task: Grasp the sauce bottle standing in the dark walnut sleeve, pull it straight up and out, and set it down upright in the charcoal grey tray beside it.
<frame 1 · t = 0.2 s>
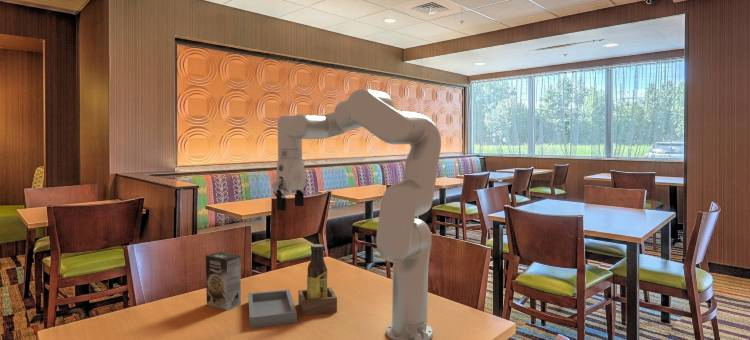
hand: (290, 208, 141), 31 cm above the table, tool pointing down, fingers open, 9 cm apart
sauce bottle: (317, 308, 137), resting in bottle sleeve
coffee box: (223, 305, 140), on the table
bottle sleeve: (317, 308, 137), on the table
tray: (271, 311, 134), on the table
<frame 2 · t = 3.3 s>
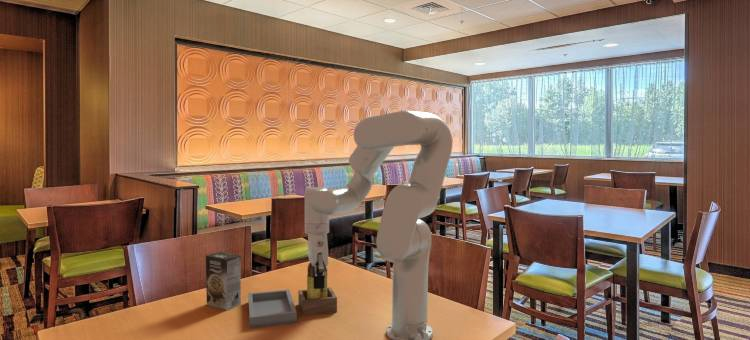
hand: (317, 284, 137), 8 cm above the table, tool pointing down, fingers closed on sauce bottle, 6 cm apart
sauce bottle: (317, 308, 137), resting in bottle sleeve, touching gripper
everything else where it was.
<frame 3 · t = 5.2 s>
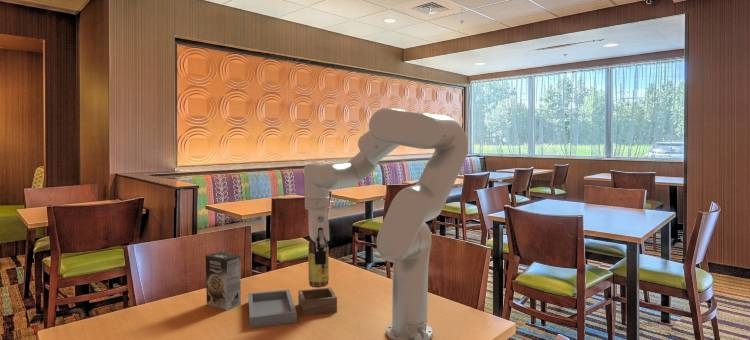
hand: (318, 260, 136), 15 cm above the table, tool pointing down, fingers closed on sauce bottle, 6 cm apart
sauce bottle: (319, 285, 136), point 7 cm above the table, touching gripper
everything else where it was.
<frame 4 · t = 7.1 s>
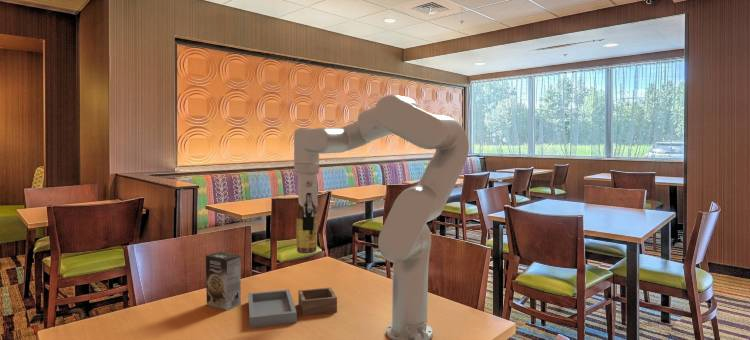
hand: (306, 227, 135), 26 cm above the table, tool pointing down, fingers closed on sauce bottle, 6 cm apart
sauce bottle: (306, 252, 135), point 18 cm above the table, touching gripper
everything else where it was.
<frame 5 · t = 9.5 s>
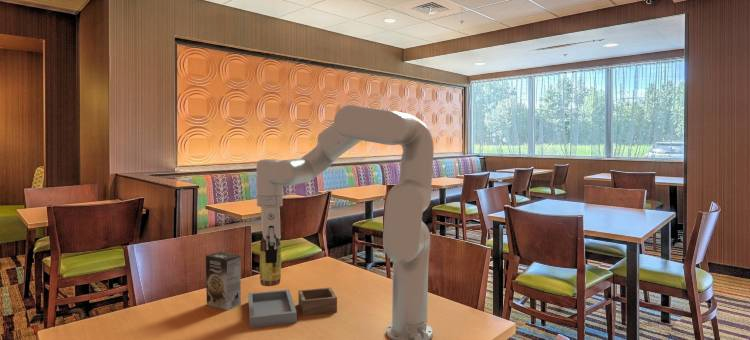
hand: (270, 258, 133), 16 cm above the table, tool pointing down, fingers closed on sauce bottle, 6 cm apart
sauce bottle: (270, 284, 134), point 9 cm above the table, touching gripper
everything else where it was.
when the fingers open (9 cm above the table, at t = 11.3 s): sauce bottle stays where it is, resting on tray.
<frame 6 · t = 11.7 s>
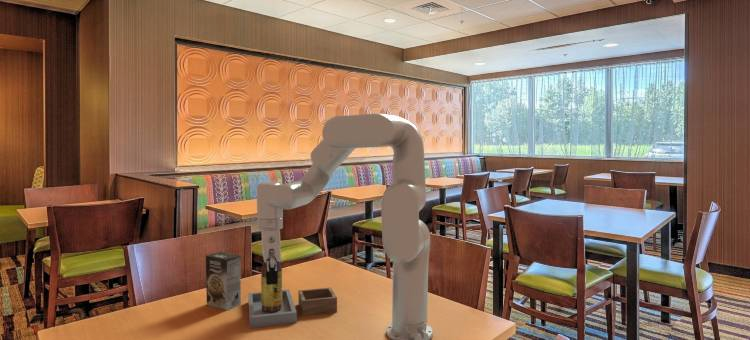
hand: (270, 278, 133), 10 cm above the table, tool pointing down, fingers open, 9 cm apart
sauce bottle: (271, 309, 134), point 1 cm above the table, touching tray
everything else where it was.
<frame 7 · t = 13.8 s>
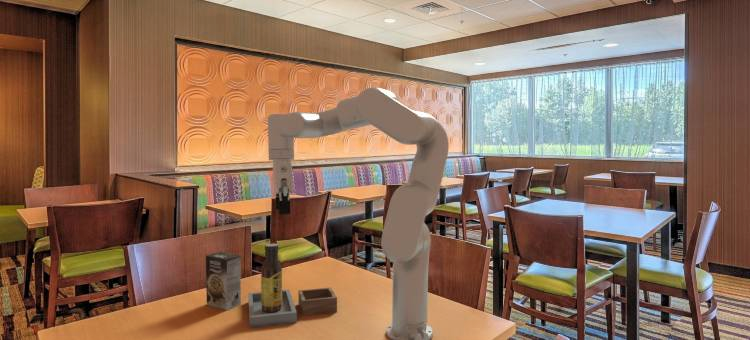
hand: (282, 211, 133), 31 cm above the table, tool pointing down, fingers open, 9 cm apart
nothing on the table moved.
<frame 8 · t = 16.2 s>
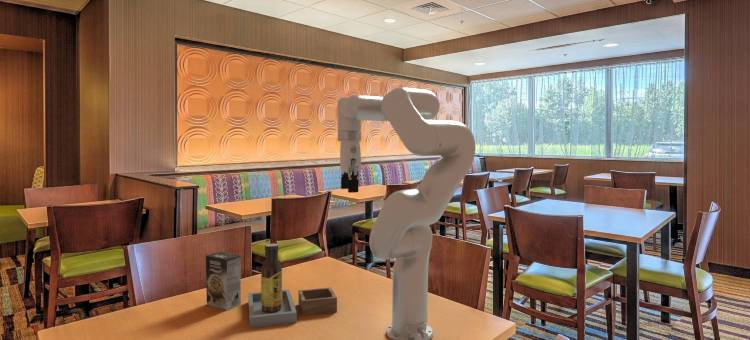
hand: (349, 190, 141), 36 cm above the table, tool pointing down, fingers open, 9 cm apart
nothing on the table moved.
at the end: sauce bottle inside the target area on the tray (0.2 cm from its centre), point 0.6 cm above the tray's base; sauce bottle tilted 0°; the gripper is holding nothing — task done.
